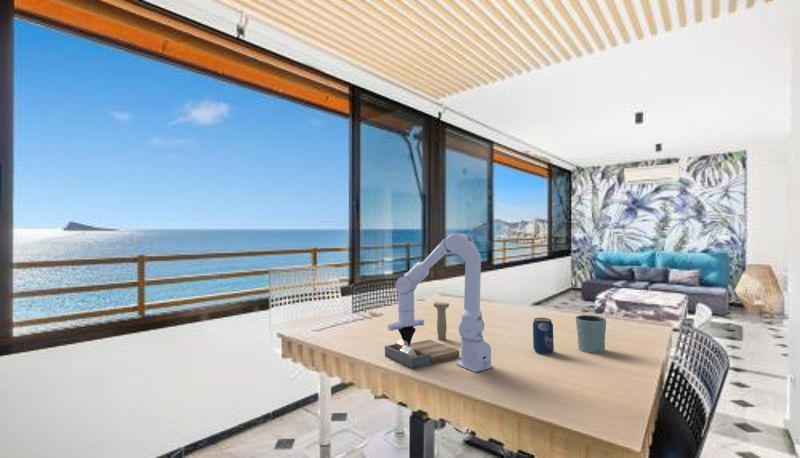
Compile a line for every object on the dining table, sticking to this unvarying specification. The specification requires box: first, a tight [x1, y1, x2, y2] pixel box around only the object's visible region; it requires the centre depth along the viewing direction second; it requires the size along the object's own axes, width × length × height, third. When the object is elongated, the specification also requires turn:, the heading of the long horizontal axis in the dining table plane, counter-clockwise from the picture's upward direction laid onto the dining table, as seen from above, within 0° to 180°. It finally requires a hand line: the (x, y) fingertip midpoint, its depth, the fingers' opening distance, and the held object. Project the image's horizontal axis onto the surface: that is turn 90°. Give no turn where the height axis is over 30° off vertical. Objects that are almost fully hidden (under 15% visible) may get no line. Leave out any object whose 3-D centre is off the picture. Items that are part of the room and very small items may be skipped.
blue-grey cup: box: [575, 314, 607, 355], centre depth 134 cm, size 10×10×12 cm
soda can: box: [532, 317, 555, 356], centre depth 133 cm, size 7×7×12 cm
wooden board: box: [410, 339, 460, 365], centre depth 132 cm, size 17×12×2 cm
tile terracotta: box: [394, 338, 409, 352], centre depth 130 cm, size 4×4×2 cm
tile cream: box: [400, 345, 417, 357], centre depth 123 cm, size 4×4×2 cm
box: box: [384, 343, 433, 370], centre depth 126 cm, size 17×8×4 cm, turn 33°
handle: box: [433, 301, 450, 341], centre depth 152 cm, size 5×6×15 cm
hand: (406, 347), depth 131 cm, fingers closed, pressing on tile terracotta
